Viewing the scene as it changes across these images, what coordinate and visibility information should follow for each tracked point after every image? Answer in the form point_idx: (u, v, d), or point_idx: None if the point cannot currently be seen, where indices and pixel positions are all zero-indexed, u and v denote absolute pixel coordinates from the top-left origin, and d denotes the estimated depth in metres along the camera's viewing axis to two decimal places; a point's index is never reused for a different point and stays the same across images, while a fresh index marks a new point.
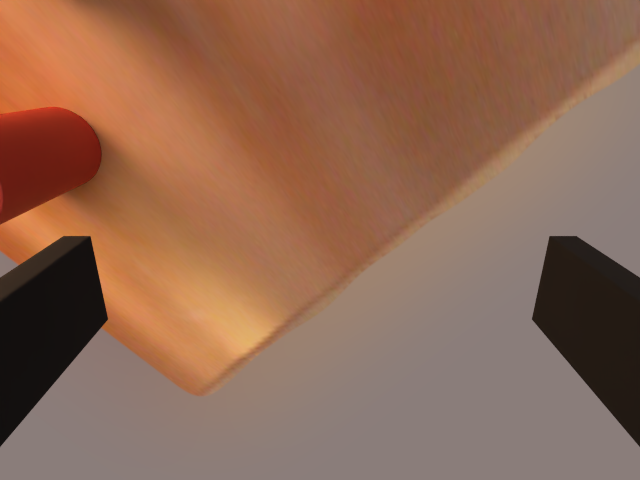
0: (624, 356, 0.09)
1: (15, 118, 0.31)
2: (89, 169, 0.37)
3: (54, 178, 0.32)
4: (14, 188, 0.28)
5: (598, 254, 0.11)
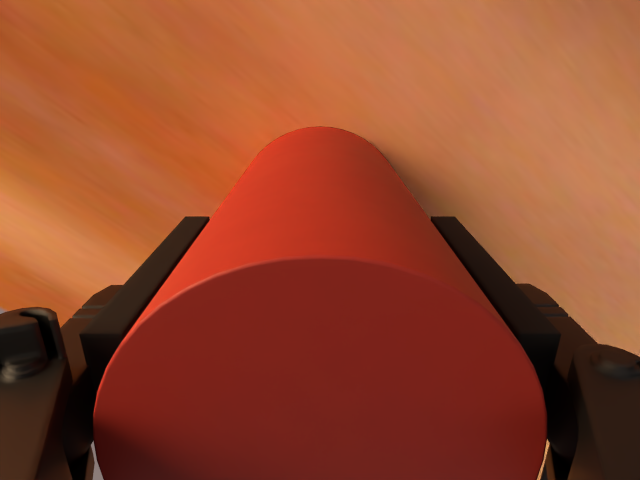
0: None
1: (340, 161, 0.11)
2: None
3: None
4: None
5: (462, 230, 0.12)
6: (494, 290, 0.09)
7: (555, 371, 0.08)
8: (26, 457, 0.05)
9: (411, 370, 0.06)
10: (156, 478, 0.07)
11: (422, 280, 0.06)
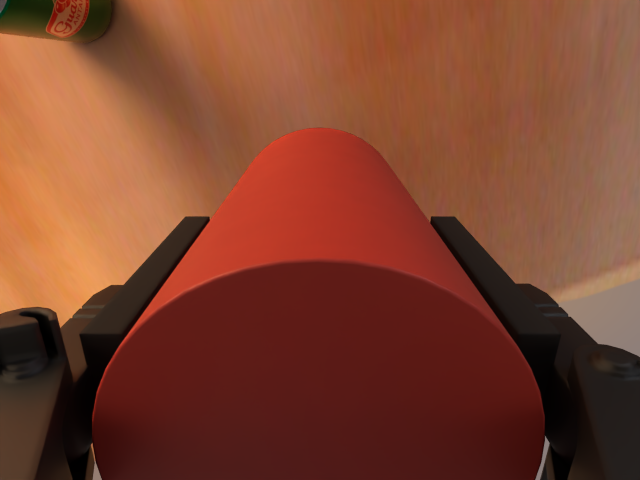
0: None
1: (339, 163, 0.11)
2: None
3: None
4: None
5: (462, 230, 0.12)
6: (494, 290, 0.09)
7: (555, 371, 0.08)
8: (26, 457, 0.05)
9: (410, 372, 0.06)
10: None
11: (421, 283, 0.06)
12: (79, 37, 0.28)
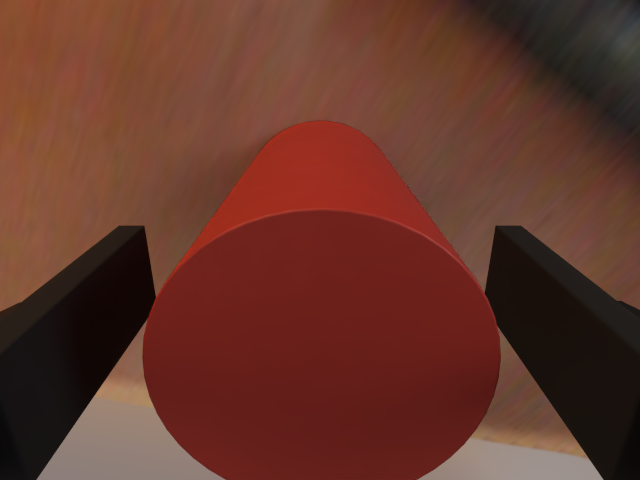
0: (547, 333, 0.10)
1: (338, 148, 0.13)
2: None
3: None
4: None
5: (535, 241, 0.12)
6: (601, 311, 0.08)
7: None
8: None
9: (393, 301, 0.08)
10: (191, 393, 0.09)
11: (399, 227, 0.07)
12: None
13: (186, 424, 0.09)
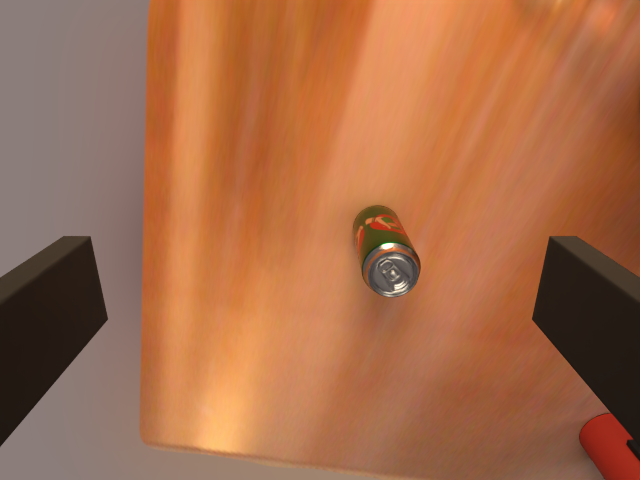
0: (624, 356, 0.09)
1: None
2: None
3: None
4: None
5: (598, 254, 0.11)
6: None
7: None
8: None
9: None
10: None
11: None
12: None
13: None
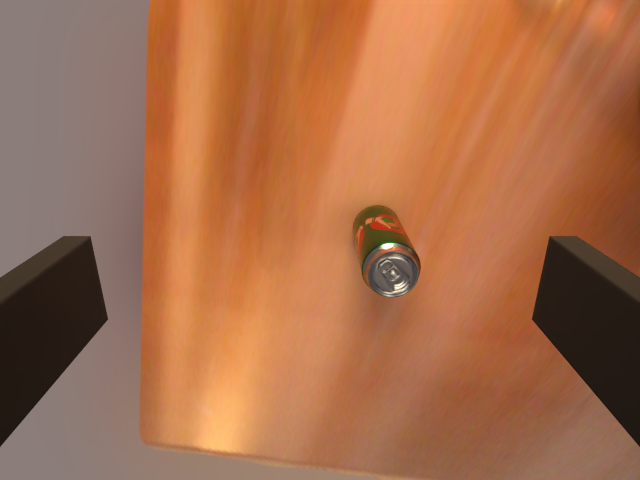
0: (624, 356, 0.09)
1: None
2: None
3: None
4: None
5: (598, 254, 0.11)
6: None
7: None
8: None
9: None
10: None
11: None
12: None
13: None
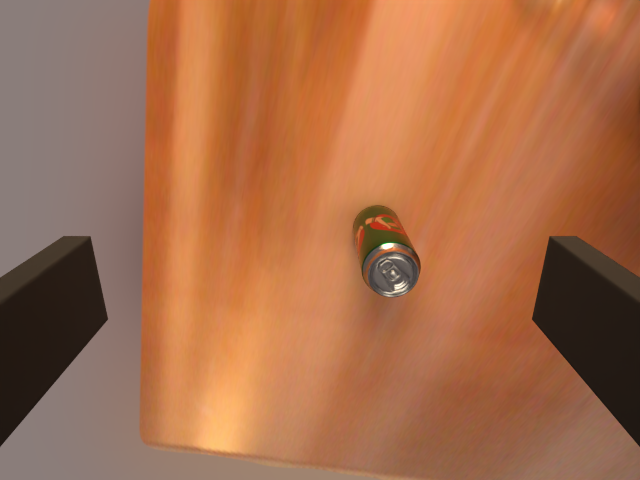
0: (624, 356, 0.09)
1: None
2: None
3: None
4: None
5: (598, 254, 0.11)
6: None
7: None
8: None
9: None
10: None
11: None
12: None
13: None
